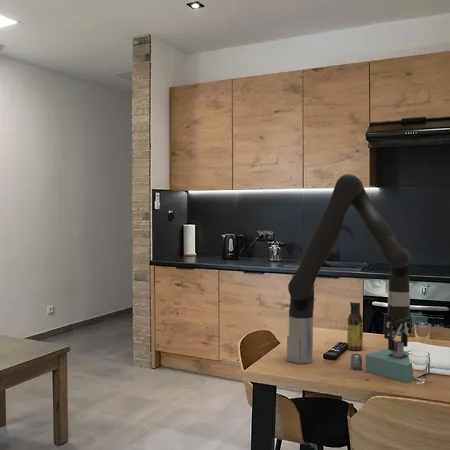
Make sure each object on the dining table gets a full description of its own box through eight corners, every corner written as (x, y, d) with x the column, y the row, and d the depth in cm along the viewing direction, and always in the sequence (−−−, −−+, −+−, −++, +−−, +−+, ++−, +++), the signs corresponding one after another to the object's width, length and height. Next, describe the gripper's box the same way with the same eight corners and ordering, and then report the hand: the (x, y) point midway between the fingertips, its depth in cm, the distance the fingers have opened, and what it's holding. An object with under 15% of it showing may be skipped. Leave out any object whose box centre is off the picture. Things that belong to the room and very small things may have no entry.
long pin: (399, 374, 181) (399, 344, 180) (389, 372, 184) (389, 341, 183) (405, 372, 183) (405, 342, 183) (395, 369, 186) (395, 340, 186)
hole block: (406, 382, 172) (406, 365, 172) (365, 371, 184) (365, 354, 184) (429, 373, 183) (430, 356, 182) (389, 362, 195) (390, 347, 195)
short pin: (357, 371, 185) (357, 357, 184) (348, 368, 188) (348, 355, 187) (364, 369, 187) (364, 355, 187) (354, 366, 190) (355, 353, 190)
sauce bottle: (363, 351, 210) (363, 303, 209) (347, 350, 211) (348, 303, 211) (362, 347, 216) (362, 301, 216) (347, 346, 218) (347, 300, 217)
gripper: (399, 300, 190) (399, 343, 191) (378, 304, 181) (377, 349, 181) (418, 302, 185) (417, 347, 185) (397, 307, 175) (396, 354, 176)
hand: (397, 348), depth 183 cm, fingers open, 8 cm apart
